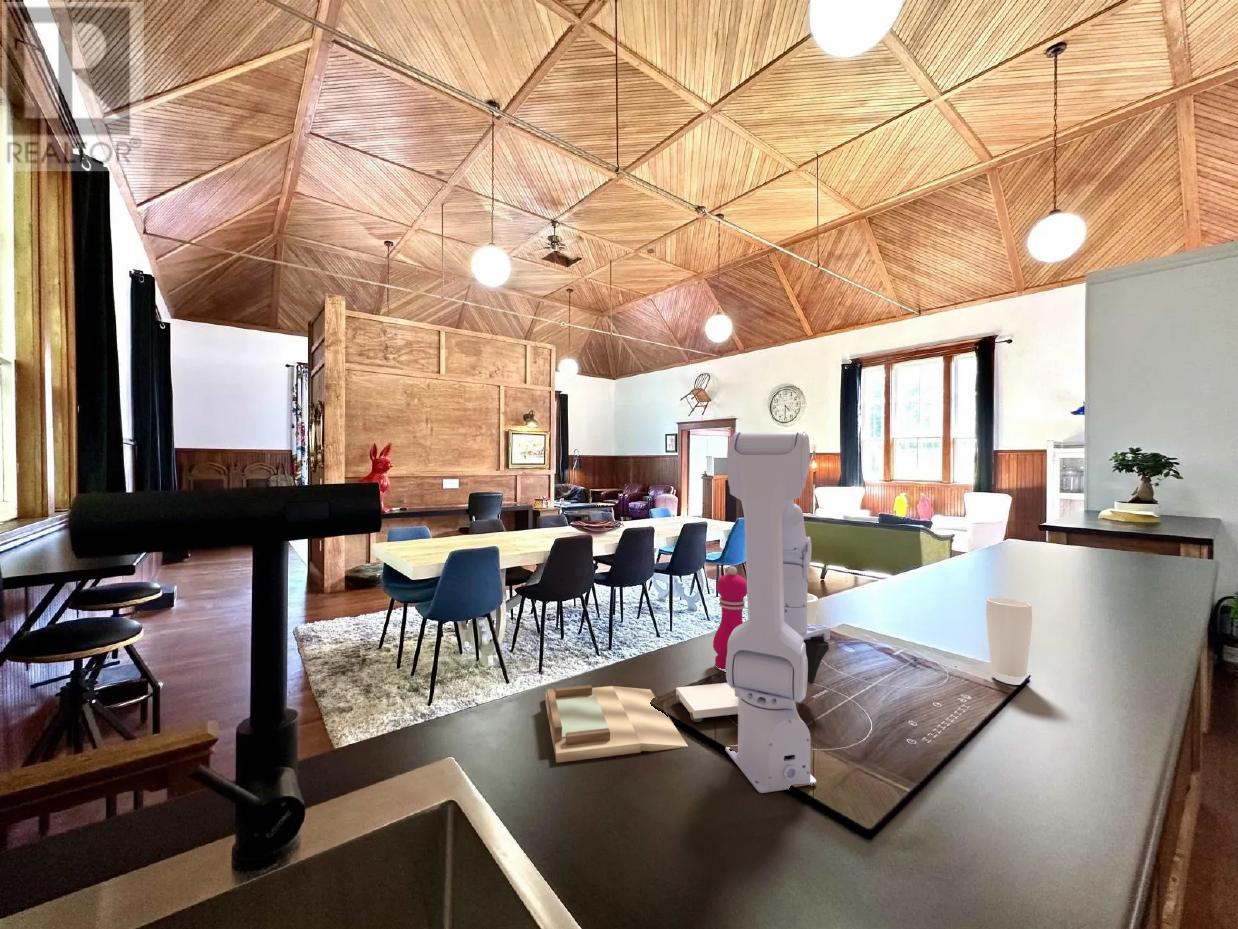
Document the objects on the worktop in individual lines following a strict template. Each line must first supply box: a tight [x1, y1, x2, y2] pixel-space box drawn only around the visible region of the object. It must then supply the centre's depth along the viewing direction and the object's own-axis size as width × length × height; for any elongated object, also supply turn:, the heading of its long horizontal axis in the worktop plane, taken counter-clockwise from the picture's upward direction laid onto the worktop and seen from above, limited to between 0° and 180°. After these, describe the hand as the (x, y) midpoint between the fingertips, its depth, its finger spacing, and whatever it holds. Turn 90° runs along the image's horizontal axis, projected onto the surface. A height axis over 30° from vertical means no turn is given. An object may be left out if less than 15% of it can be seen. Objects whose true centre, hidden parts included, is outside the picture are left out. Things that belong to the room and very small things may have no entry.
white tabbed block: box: [675, 682, 738, 723], centre depth 79 cm, size 8×11×2 cm
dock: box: [544, 684, 689, 764], centre depth 75 cm, size 18×18×4 cm
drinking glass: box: [985, 596, 1033, 677], centre depth 92 cm, size 7×7×15 cm
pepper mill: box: [712, 566, 747, 669], centre depth 96 cm, size 7×7×20 cm
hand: (788, 683), depth 82 cm, fingers open, 7 cm apart
